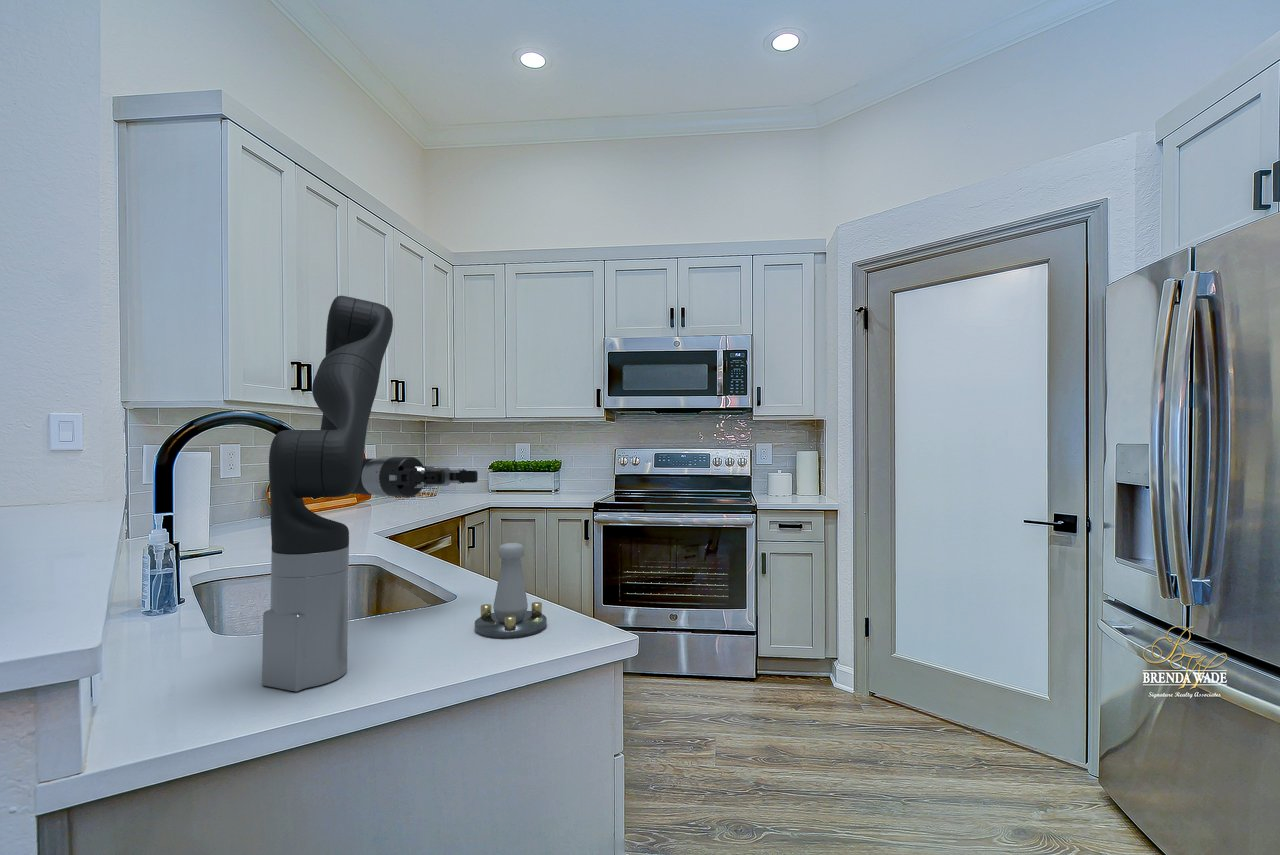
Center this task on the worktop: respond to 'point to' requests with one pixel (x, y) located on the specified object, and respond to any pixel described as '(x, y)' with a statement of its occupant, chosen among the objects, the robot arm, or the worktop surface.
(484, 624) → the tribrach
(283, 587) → the robot arm
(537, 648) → the worktop surface
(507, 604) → the salt shaker
